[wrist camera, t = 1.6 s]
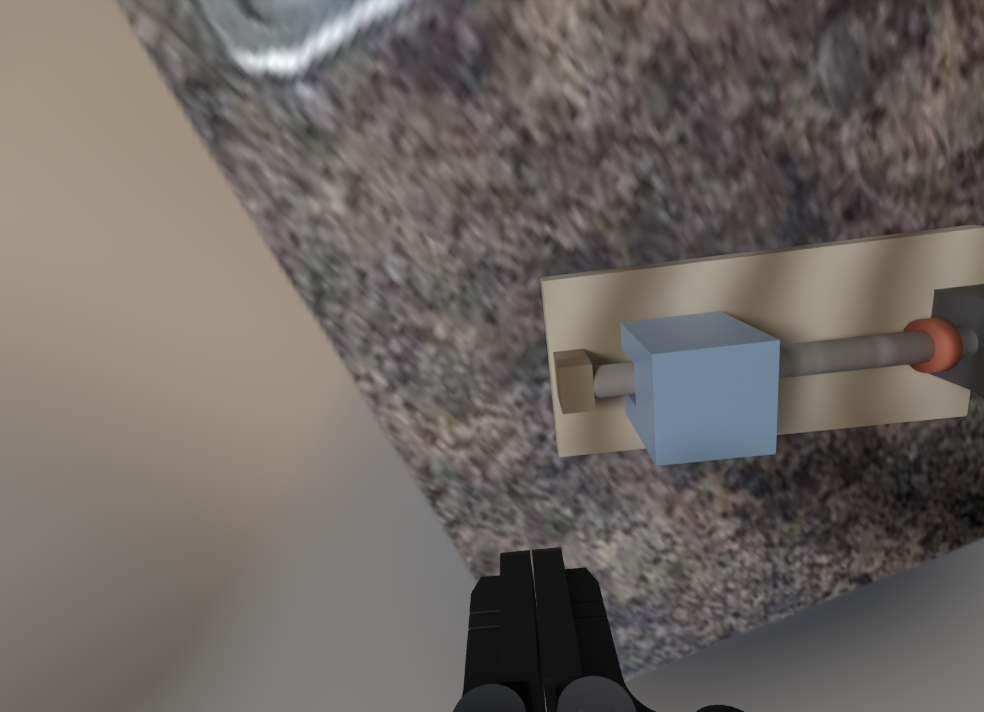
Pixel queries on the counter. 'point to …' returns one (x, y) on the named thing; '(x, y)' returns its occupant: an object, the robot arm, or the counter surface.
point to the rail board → (786, 330)
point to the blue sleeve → (702, 387)
